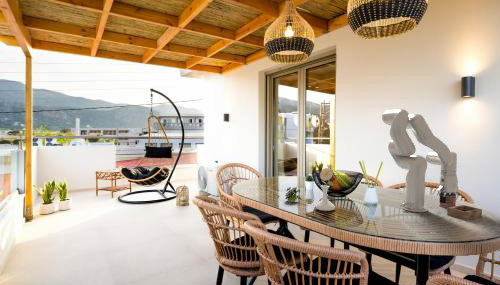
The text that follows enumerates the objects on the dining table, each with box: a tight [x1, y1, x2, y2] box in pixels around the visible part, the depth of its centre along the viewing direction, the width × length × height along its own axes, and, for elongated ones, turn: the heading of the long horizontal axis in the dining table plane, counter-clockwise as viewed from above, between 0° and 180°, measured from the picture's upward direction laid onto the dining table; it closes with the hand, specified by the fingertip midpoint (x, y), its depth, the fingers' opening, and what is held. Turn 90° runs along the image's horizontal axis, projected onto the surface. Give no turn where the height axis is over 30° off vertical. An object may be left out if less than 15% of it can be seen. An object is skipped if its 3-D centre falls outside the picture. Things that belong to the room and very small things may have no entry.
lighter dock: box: [446, 204, 483, 221], centre depth 150 cm, size 13×9×4 cm
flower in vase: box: [314, 167, 336, 212], centre depth 162 cm, size 13×11×25 cm
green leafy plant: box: [285, 186, 302, 204], centre depth 182 cm, size 11×11×12 cm
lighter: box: [438, 192, 457, 209], centre depth 166 cm, size 8×3×10 cm, turn 45°
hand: (447, 202), depth 166 cm, fingers open, 8 cm apart
